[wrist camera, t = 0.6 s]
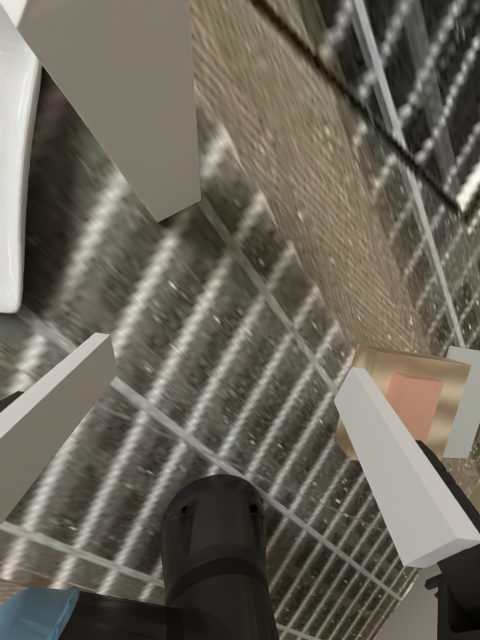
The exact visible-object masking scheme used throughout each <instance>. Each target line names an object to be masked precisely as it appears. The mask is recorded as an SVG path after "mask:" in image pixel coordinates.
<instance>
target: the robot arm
mask: <svg viewBox="0 0 480 640" xmlns="http://www.w3.org/2000/svg"><path fill="white" fill-rule="evenodd" d="M117 374H118V370H117V365H116V360H115V356H114V351H113V346H112V342H111V337H110V335H108V334H100V333H95V334H93V335H92V336H91V337H90V338H89V339H87V340H86V341H85V342H84V343H83V344H81V345H80V346H79V347H78V348H77V349H76V350H74V351H73V352H72V353H71V354H70V355H68V356H67V357H66V358H65V359H64V360H63V361H61V362H60V363H59V364H58V365H57V366H55V367H54V368H53V369H52V370H51V371H49V372H48V373H47V374H46V375H45V376H44V377H42V378H41V379H40V380H39V381H38V382H36V383H35V384H34V385H33V386H32V387H30V388H29V389H28V390H27V391H26V392H20V391H17V392H15V393H14V394H12V395H10V396H8V397H6V398H4V399H2V400H1V401H0V523H1V524H2V523H3V521H4V520H5V519H6V517H7V516H8V515H9V514H10V512H11V511H12V510H13V508H14V507H15V506H16V504H17V503H18V502H19V501H20V499H21V498H22V497H23V495H24V494H25V493H26V492H27V490H28V489H29V488H30V486H31V485H32V484H33V482H34V481H35V480H36V479H37V477H38V476H39V475H40V473H41V472H42V471H43V470H44V468H45V467H46V466H47V464H48V463H49V462H50V461H51V459H52V458H53V457H54V455H55V454H56V453H57V451H58V450H59V449H60V448H61V446H62V445H63V444H64V442H65V441H66V440H67V439H68V437H69V436H70V435H71V433H72V432H73V431H74V429H75V428H76V427H77V426H78V424H79V423H80V422H81V420H82V419H83V418H84V417H85V415H86V414H87V413H88V411H89V410H90V409H91V408H92V406H93V405H94V404H95V402H96V401H97V400H98V398H99V397H100V396H101V395H102V393H103V392H104V391H105V389H106V388H107V387H108V386H109V384H110V383H111V382H112V380H113V379H114V378H115V376H116V375H117ZM334 402H335V405H336V407H337V410H338V412H339V414H340V417H341V419H342V421H343V424H344V426H345V428H346V431H347V433H348V436H349V438H350V440H351V443H352V445H353V447H354V450H355V452H356V455H357V457H358V459H359V462H360V464H361V466H362V469H363V471H364V473H365V476H366V478H367V481H368V483H369V485H370V488H371V490H372V492H373V495H374V497H375V499H376V502H377V504H378V507H379V509H380V511H381V514H382V516H383V518H384V521H385V523H386V526H387V528H388V530H389V533H390V535H391V537H392V540H393V542H394V544H395V547H396V549H397V552H398V554H399V556H400V559H401V561H402V563H403V566H411V567H420V568H427V567H429V566H431V565H433V564H436V563H437V564H438V566H439V568H440V570H441V572H442V574H439V575H437V576H434V577H432V578H430V579H428V580H426V584H425V587H426V588H427V589H428V590H430V589H433V588H436V587H438V592H437V593H436V594H435V597H436V598H437V599H438V626H437V628H438V629H437V640H480V514H479V513H478V512H477V510H476V509H475V507H474V506H473V505H472V503H471V502H470V501H469V499H468V498H467V497H466V495H465V494H464V493H463V491H462V490H461V488H460V487H459V486H458V485H456V482H455V480H454V479H453V478H452V476H451V475H450V473H449V472H447V471H446V468H445V467H444V465H443V464H442V463H441V461H440V460H439V459H438V457H437V456H436V454H435V453H434V452H433V451H431V450H430V449H429V448H428V447H427V446H426V445H425V444H424V443H423V442H422V441H421V440H414V438H413V437H412V436H411V434H410V433H409V431H408V430H407V428H406V427H405V425H404V424H403V423H402V421H401V420H400V418H399V417H398V415H397V414H396V412H395V411H394V410H393V408H392V407H391V405H390V404H389V402H388V401H387V399H386V398H385V397H384V395H383V394H382V392H381V391H380V389H379V388H378V386H377V385H376V384H375V382H374V381H373V379H372V378H371V376H370V375H369V373H368V372H367V371H366V369H362V368H355V367H352V368H351V369H350V371H349V373H348V375H347V377H346V379H345V381H344V382H343V384H342V386H341V388H340V390H339V392H338V394H337V395H336V397H335V399H334ZM160 546H161V556H162V566H163V576H164V586H165V606H163V605H157V604H151V603H145V602H140V601H134V600H128V599H123V598H117V597H111V596H105V595H100V594H94V593H88V592H82V591H80V589H79V588H78V587H72V588H69V589H67V590H61V589H48V588H28V589H25V590H23V591H20V592H19V593H17V594H15V595H14V596H12V597H11V598H10V599H8V600H7V601H6V602H4V603H3V604H2V605H1V606H0V640H279V636H278V631H277V627H276V622H275V618H274V613H273V608H272V604H271V599H270V595H269V590H268V585H267V580H266V574H265V569H266V517H265V512H264V508H263V505H262V501H261V498H260V496H259V494H258V492H257V491H256V489H255V488H254V487H253V486H252V485H251V484H250V483H248V482H247V481H245V480H243V479H241V478H238V477H235V476H230V475H214V476H209V477H205V478H202V479H199V480H197V481H195V482H193V483H191V484H189V485H188V486H186V487H185V488H184V489H182V490H181V491H180V492H179V493H178V494H177V495H176V496H175V497H174V498H173V500H172V501H171V503H170V504H169V506H168V508H167V510H166V513H165V516H164V521H163V526H162V532H161V541H160Z"/></svg>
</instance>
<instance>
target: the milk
mask: <svg viewBox="0 0 480 640" xmlns="http://www.w3.org/2000/svg"><path fill="white" fill-rule="evenodd" d="M0 3H1V5H2V6H3V8H4V10H5V11H6V13H7V15H8V16H9V18H10V20H11V21H12V23H13V25H14V26H15V28H16V29H17V31H18V32H19V34H20V35H21V37H22V38H23V39H24V41H25V42H26V43H27V45H28V46H29V48H30V49H31V50H32V52H33V53H34V54H35V56H36V57H37V58H38V60H39V61H40V63H41V64H42V65H43V67H44V68H45V69H46V71H47V72H48V74H49V75H50V76H51V78H52V79H53V80H54V82H55V83H56V85H57V86H58V87H59V89H60V90H61V91H62V93H63V94H64V95H65V97H66V98H67V100H68V101H69V102H70V104H71V105H72V106H73V108H74V109H75V111H76V112H77V113H78V115H79V116H80V117H81V119H82V120H83V122H84V123H85V124H86V126H87V127H88V128H89V130H90V131H91V132H92V134H93V135H94V137H95V138H96V139H97V141H98V142H99V143H100V145H101V146H102V148H103V149H104V150H105V152H106V153H107V154H108V156H109V157H110V159H111V160H112V161H113V163H114V164H115V165H116V167H117V168H118V170H119V171H120V172H121V174H122V175H123V176H124V178H125V179H126V180H127V182H128V183H129V185H130V186H131V187H132V189H133V190H134V191H135V193H136V194H137V196H138V197H139V198H140V200H141V201H142V202H143V204H144V205H145V207H146V208H147V209H148V211H149V212H150V213H151V215H152V216H153V217H154V219H155V220H156V222H160V221H162V220H164V219H166V218H168V217H170V216H172V215H174V214H176V213H178V212H179V211H181V210H183V209H185V208H187V207H189V206H191V205H193V204H195V203H197V202H199V201H201V193H200V176H199V160H198V143H197V127H196V110H195V93H194V77H193V60H192V44H191V27H190V11H189V0H0Z"/></svg>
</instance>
